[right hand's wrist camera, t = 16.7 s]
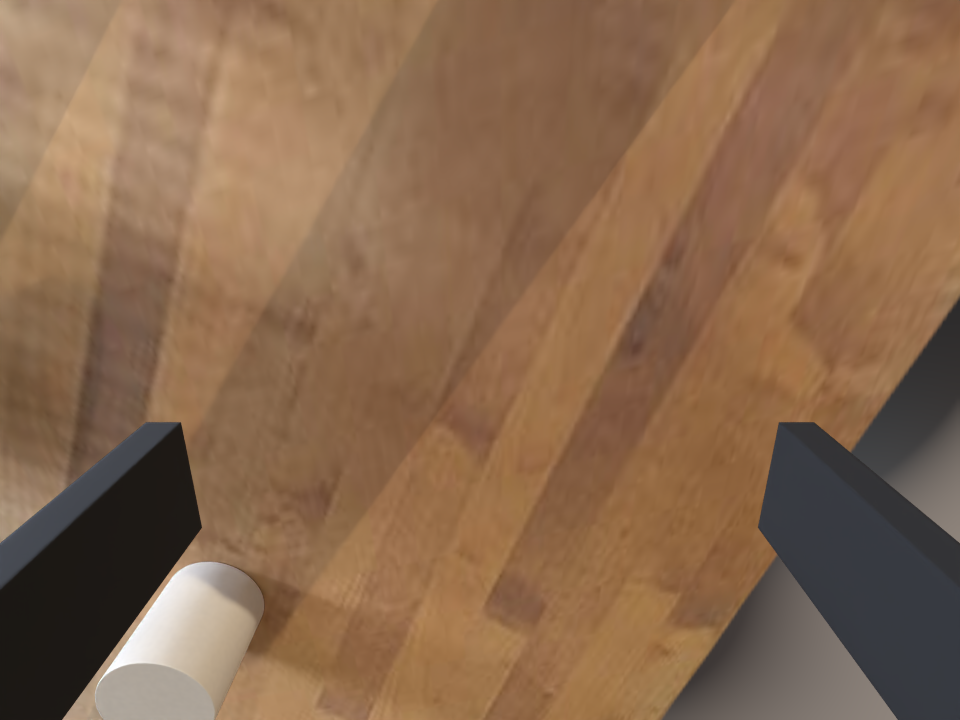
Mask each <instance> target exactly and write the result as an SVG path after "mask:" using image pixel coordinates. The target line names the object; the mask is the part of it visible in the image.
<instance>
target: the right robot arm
mask: <svg viewBox="0 0 960 720" xmlns="http://www.w3.org/2000/svg"><path fill="white" fill-rule="evenodd" d="M201 528H202V525H201V520H200V515H199V510H198V505H197V500H196V495H195V490H194V485H193V480H192V475H191V470H190V465H189V460H188V455H187V450H186V445H185V440H184V435H183V430H182V425H181V422H146V423H145V424H143V425H142V426H141V427H140V428H139V429H137V430H136V431H135V432H134V433H133V434H131V435H130V436H129V437H128V438H127V439H125V440H124V441H123V442H122V443H121V444H119V445H118V446H117V447H116V448H115V449H113V450H112V451H111V452H110V453H109V454H107V455H106V456H105V457H104V458H102V459H101V460H100V461H99V462H98V463H96V464H95V465H94V466H93V467H92V468H90V469H89V470H88V471H87V472H86V473H84V474H83V475H82V476H81V477H80V478H78V479H77V480H76V481H75V482H74V483H72V484H71V485H70V486H69V487H68V488H66V489H65V490H64V491H63V492H61V493H60V494H59V495H58V496H57V497H55V498H54V499H53V500H52V501H51V502H49V503H48V504H47V505H46V506H45V507H43V508H42V509H41V510H40V511H39V512H37V513H36V514H35V515H34V516H33V517H31V518H30V519H29V520H28V521H27V522H25V523H24V524H23V525H22V526H20V527H19V528H18V529H17V530H16V531H14V532H13V533H12V534H11V535H10V536H8V537H7V538H6V539H5V540H4V541H2V542H1V543H0V720H62V719H63V718H64V716H65V715H66V714H67V712H68V711H69V710H70V708H71V707H72V705H73V704H74V703H75V701H76V700H77V699H78V697H79V696H80V694H81V693H82V692H83V690H84V689H85V688H86V686H87V685H88V683H89V682H90V681H91V679H92V678H93V677H94V675H95V674H96V672H97V671H98V670H99V668H100V667H101V666H102V664H103V663H104V661H105V660H106V659H107V657H108V656H109V655H110V653H111V652H112V650H113V649H114V648H115V646H116V645H117V644H118V642H119V641H120V639H121V638H122V637H123V635H124V634H125V633H126V631H127V630H128V628H129V627H130V626H131V624H132V623H133V622H134V620H135V619H136V617H137V616H138V615H139V613H140V612H141V611H142V609H143V608H144V606H145V605H146V604H147V602H148V601H149V600H150V598H151V597H152V595H153V594H154V593H155V591H156V590H157V589H158V587H159V586H160V584H161V583H162V582H163V580H164V579H165V578H166V576H167V575H168V573H169V572H170V571H171V569H172V568H173V567H174V565H175V564H176V562H177V561H178V560H179V558H180V557H181V556H182V554H183V553H184V552H185V550H186V549H187V547H188V546H189V545H190V543H191V542H192V541H193V539H194V538H195V536H196V535H197V534H198V532H199V531H200V530H201ZM758 528H759V530H760V531H761V532H762V534H763V535H764V536H765V538H766V539H767V541H768V542H769V543H770V545H771V546H772V547H773V549H774V550H775V552H776V553H777V554H778V556H779V557H780V558H781V560H782V561H783V562H784V564H785V565H786V567H787V568H788V569H789V571H790V572H791V573H792V575H793V576H794V578H795V579H796V580H797V582H798V583H799V584H800V586H801V587H802V589H803V590H804V591H805V593H806V594H807V595H808V597H809V598H810V600H811V601H812V602H813V604H814V605H815V606H816V608H817V609H818V611H819V612H820V613H821V615H822V616H823V617H824V619H825V620H826V622H827V623H828V624H829V626H830V627H831V628H832V630H833V631H834V633H835V634H836V635H837V637H838V638H839V639H840V641H841V642H842V644H843V645H844V646H845V648H846V649H847V650H848V652H849V653H850V655H851V656H852V657H853V659H854V660H855V661H856V663H857V664H858V666H859V667H860V668H861V670H862V671H863V672H864V674H865V675H866V677H867V678H868V679H869V681H870V682H871V683H872V685H873V686H874V688H875V689H876V690H877V692H878V693H879V694H880V696H881V697H882V699H883V700H884V701H885V703H886V704H887V705H888V707H889V708H890V710H891V711H892V712H893V714H894V715H895V716H896V718H897V719H898V720H960V543H959V542H958V541H956V540H955V539H954V538H953V537H952V536H950V535H949V534H948V533H947V532H946V531H944V530H943V529H942V528H941V527H940V526H938V525H937V524H936V523H935V522H933V521H932V520H931V519H930V518H929V517H927V516H926V515H925V514H924V513H922V512H921V511H920V510H919V509H918V508H917V507H915V506H914V505H913V504H912V503H911V502H909V501H908V500H907V499H906V498H905V497H903V496H902V495H901V494H900V493H899V492H897V491H896V490H895V489H894V488H892V487H891V486H890V485H889V484H888V483H886V482H885V481H884V480H883V479H882V478H880V477H879V476H878V475H877V474H876V473H874V472H873V471H872V470H871V469H870V468H868V467H867V466H866V465H865V464H864V463H862V462H861V461H860V460H859V459H857V458H856V457H855V456H854V455H853V454H851V453H850V452H849V451H848V450H847V449H845V448H844V447H843V446H842V445H841V444H839V443H838V442H837V441H836V440H835V439H833V438H832V437H831V436H830V435H829V434H827V433H826V432H825V431H824V430H823V429H821V428H820V427H819V426H818V425H817V424H815V423H814V422H779V425H778V430H777V435H776V440H775V445H774V450H773V455H772V460H771V465H770V470H769V475H768V480H767V485H766V490H765V495H764V500H763V505H762V510H761V515H760V520H759V525H758Z"/></svg>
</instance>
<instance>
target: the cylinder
mask: <svg viewBox="0 0 960 720" xmlns="http://www.w3.org/2000/svg"><path fill="white" fill-rule="evenodd" d="M263 612H264V599H263V595H262V593H261V591H260V589H259V587H258V586H257V584H256V583H255V582H254V581H253V580H252V579H251V578H250V577H249V576H248V575H247V574H245V573H244V572H242V571H241V570H239V569H237V568H235V567H232V566H230V565H226V564H223V563H218V562H199V563H194V564H191V565H188V566H186V567H184V568H182V569H181V570H179V571H178V572H177V573H176V574H175V575H174V576H173V577H172V579H171V580H170V581H169V583H168V584H167V586H166V587H165V589H164V590H163V591H162V593H161V594H160V596H159V597H158V599H157V600H156V601H155V603H154V604H153V606H152V607H151V609H150V610H149V611H148V613H147V614H146V616H145V617H144V619H143V620H142V621H141V623H140V624H139V626H138V627H137V629H136V630H135V631H134V633H133V634H132V636H131V637H130V639H129V640H128V641H127V643H126V644H125V646H124V647H123V649H122V650H121V651H120V653H119V654H118V656H117V657H116V659H115V660H114V661H113V663H112V664H111V666H110V667H109V669H108V670H107V671H106V673H105V674H104V676H103V677H102V679H101V680H100V682H99V683H98V685H97V688H96V692H95V702H96V706H97V709H98V711H99V713H100V715H101V717H102V718H103V719H104V720H215V719H216V717H217V715H218V713H219V710H220V708H221V706H222V704H223V702H224V699H225V697H226V695H227V693H228V691H229V688H230V686H231V684H232V682H233V680H234V677H235V675H236V673H237V671H238V669H239V666H240V664H241V662H242V660H243V658H244V655H245V653H246V651H247V649H248V647H249V644H250V642H251V640H252V638H253V636H254V633H255V631H256V629H257V627H258V625H259V622H260V620H261V618H262V616H263Z"/></svg>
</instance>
